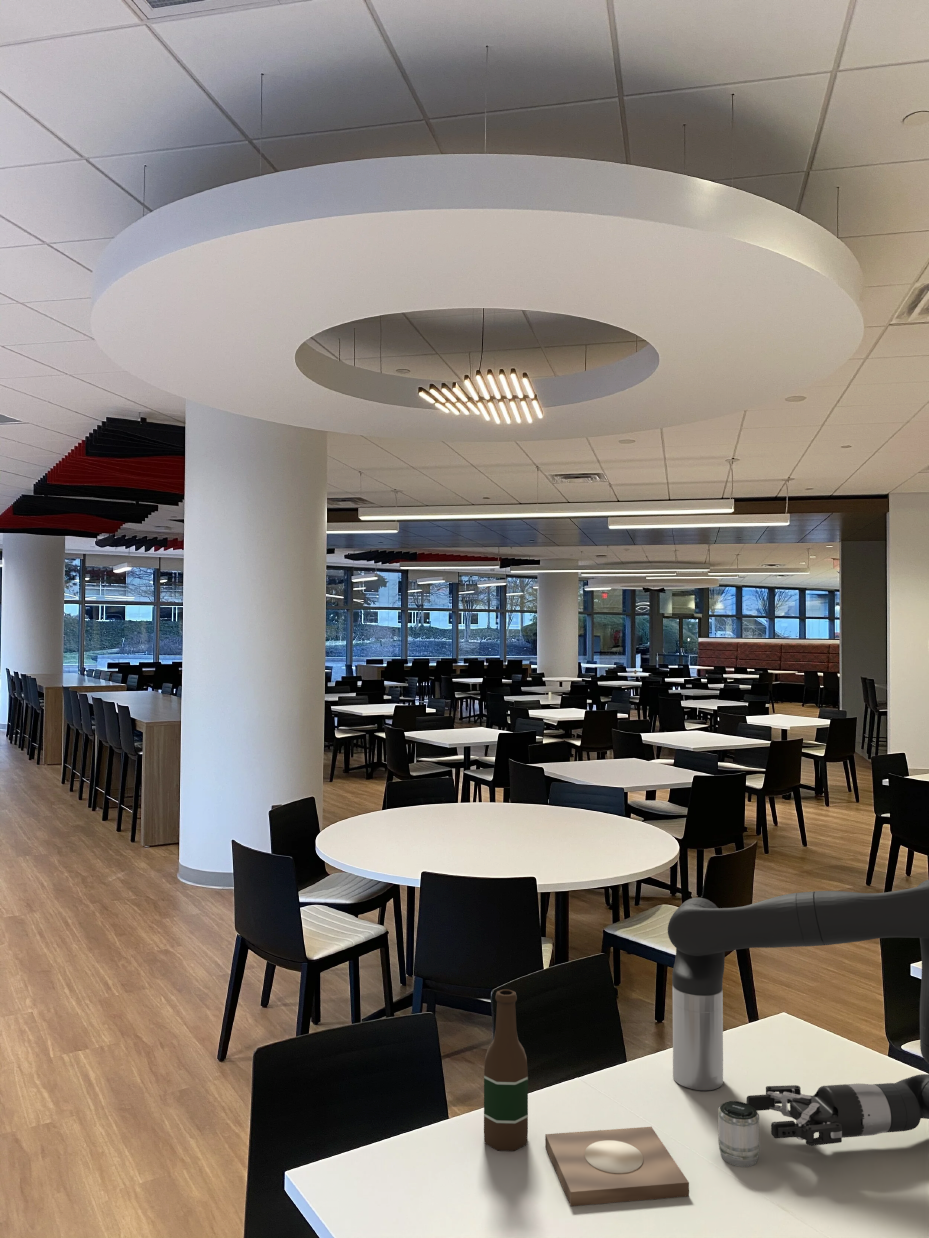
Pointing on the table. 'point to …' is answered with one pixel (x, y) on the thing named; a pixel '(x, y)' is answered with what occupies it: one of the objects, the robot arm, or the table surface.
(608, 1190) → the display stand
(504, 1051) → the beer bottle
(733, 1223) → the table surface
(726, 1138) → the camera lens
